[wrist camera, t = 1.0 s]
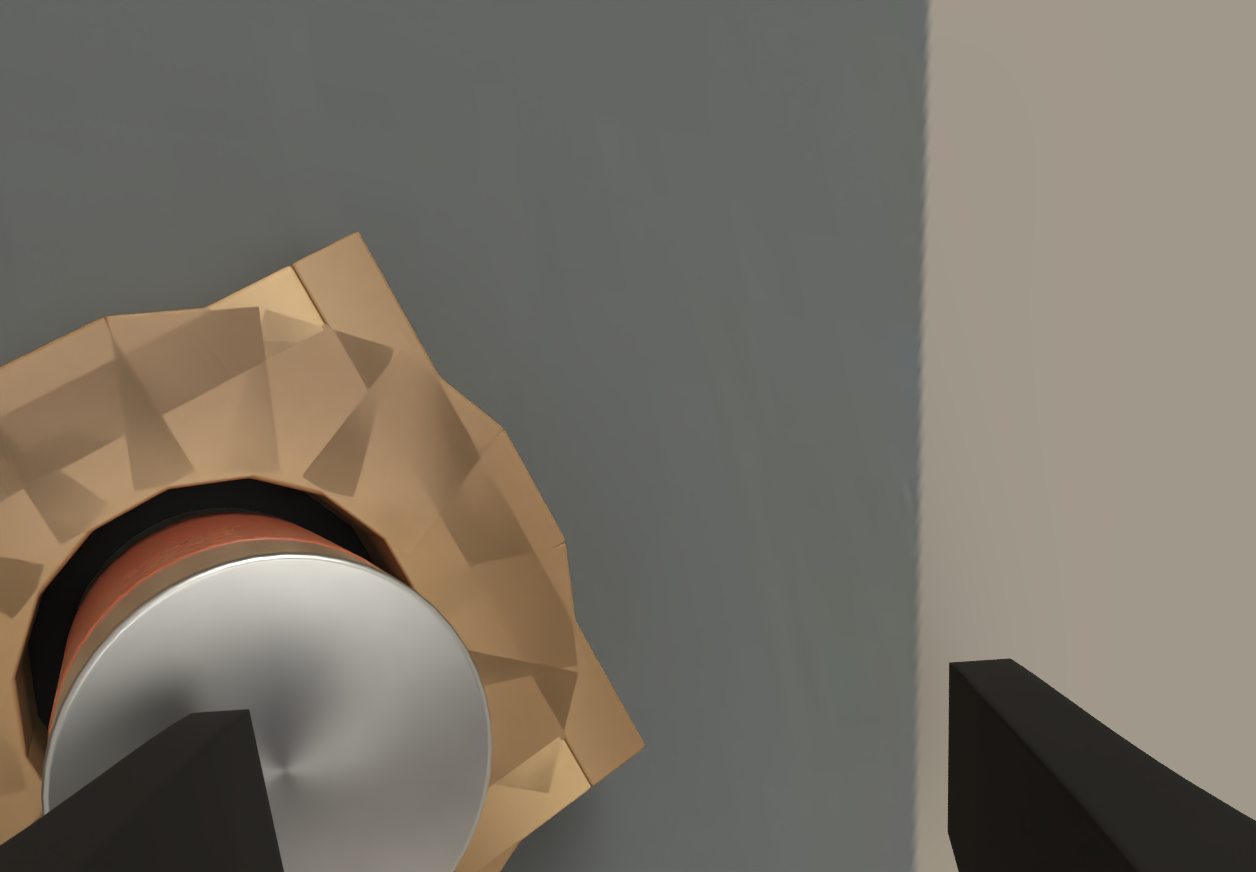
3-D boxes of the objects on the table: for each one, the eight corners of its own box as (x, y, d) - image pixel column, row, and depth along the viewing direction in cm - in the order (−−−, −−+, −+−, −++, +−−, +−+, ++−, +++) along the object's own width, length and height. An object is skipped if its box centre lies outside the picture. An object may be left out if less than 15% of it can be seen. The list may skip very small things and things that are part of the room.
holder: (91, 1109, 21) (88, 1209, 19) (-325, 543, 19) (-400, 562, 16) (622, 718, 26) (684, 754, 23) (340, 214, 23) (371, 185, 20)
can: (166, 840, 22) (198, 1090, 14) (6, 604, 21) (-64, 719, 12) (409, 679, 24) (567, 812, 15) (273, 454, 23) (366, 467, 14)
